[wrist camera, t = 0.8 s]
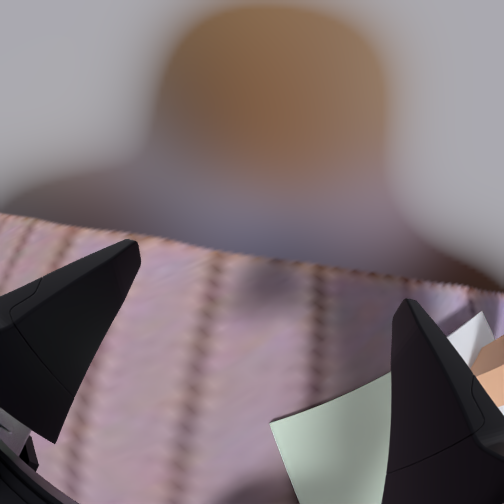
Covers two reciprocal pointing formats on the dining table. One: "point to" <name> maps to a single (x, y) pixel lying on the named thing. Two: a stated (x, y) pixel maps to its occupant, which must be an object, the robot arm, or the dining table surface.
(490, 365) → the terracotta block
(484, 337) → the white block
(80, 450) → the dining table surface
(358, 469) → the sage mat
